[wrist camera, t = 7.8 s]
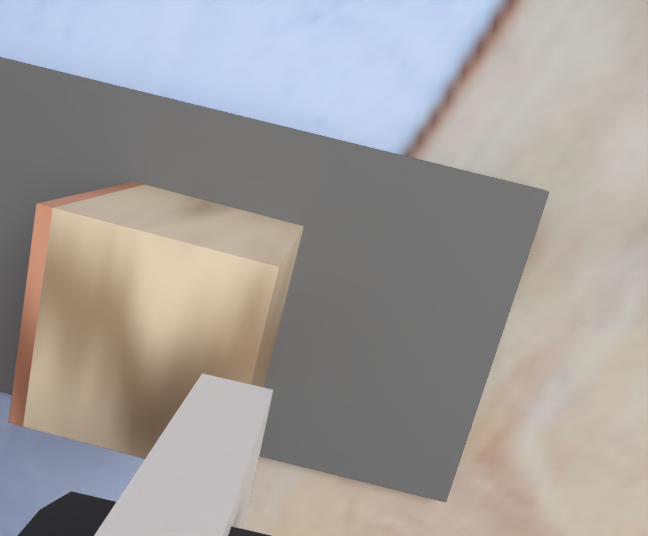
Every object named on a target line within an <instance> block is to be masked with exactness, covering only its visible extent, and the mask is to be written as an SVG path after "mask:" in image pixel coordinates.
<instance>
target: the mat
mask: <svg viewBox="0 0 648 536" xmlns="http://www.w3.org/2000/svg"><path fill="white" fill-rule="evenodd" d="M130 182H136V183H140V184H144V185H148V186H152V187H156V188H159V189H163V190H167V191H171V192H175V193H178V194H182V195H186V196H190V197H194V198H198V199H201V200H205V201H209V202H213V203H217V204H221V205H224V206H228V207H232V208H236V209H240V210H244V211H247V212H251V213H255V214H259V215H263V216H267V217H270V218H274V219H278V220H282V221H286V222H289V223H293V224H297V225H301V226H304V227H303V231H302V236H301V240H300V244H299V248H298V252H297V256H296V260H295V264H294V268H293V272H292V276H291V280H290V284H289V288H288V292H287V296H286V300H285V304H284V308H283V312H282V317H281V321H280V325H279V329H278V333H277V337H276V341H275V345H274V349H273V353H272V357H271V361H270V365H269V369H268V373H267V377H266V381H265V385H264V388H268V389H272V390H273V394H272V398H271V403H270V408H269V412H268V417H267V422H266V427H265V431H264V436H263V441H262V445H261V450H260V455H259V456H262V457H266V458H270V459H274V460H278V461H282V462H286V463H290V464H294V465H298V466H302V467H306V468H310V469H314V470H318V471H322V472H326V473H330V474H334V475H338V476H342V477H346V478H350V479H354V480H358V481H362V482H366V483H370V484H374V485H378V486H382V487H386V488H390V489H394V490H398V491H402V492H406V493H410V494H414V495H418V496H422V497H426V498H430V499H434V500H438V501H442V502H446V501H447V498H448V495H449V492H450V489H451V486H452V483H453V480H454V477H455V474H456V471H457V468H458V465H459V462H460V459H461V456H462V453H463V450H464V447H465V444H466V441H467V438H468V435H469V432H470V429H471V426H472V423H473V420H474V417H475V414H476V411H477V408H478V405H479V402H480V399H481V396H482V393H483V390H484V387H485V384H486V381H487V378H488V375H489V372H490V369H491V366H492V363H493V360H494V357H495V354H496V351H497V348H498V345H499V342H500V339H501V336H502V333H503V330H504V327H505V324H506V321H507V318H508V315H509V312H510V309H511V306H512V303H513V300H514V297H515V294H516V291H517V288H518V285H519V282H520V279H521V276H522V273H523V270H524V267H525V264H526V261H527V258H528V255H529V252H530V249H531V246H532V243H533V240H534V237H535V234H536V231H537V228H538V225H539V222H540V219H541V216H542V213H543V210H544V207H545V204H546V201H547V198H548V195H549V192H548V191H545V190H542V189H538V188H534V187H529V186H525V185H521V184H517V183H513V182H509V181H505V180H501V179H497V178H493V177H489V176H484V175H480V174H476V173H472V172H468V171H464V170H460V169H456V168H452V167H448V166H443V165H439V164H435V163H431V162H427V161H423V160H419V159H415V158H411V157H407V156H403V155H398V154H394V153H390V152H386V151H382V150H378V149H374V148H370V147H366V146H362V145H358V144H353V143H349V142H345V141H341V140H337V139H333V138H329V137H325V136H321V135H317V134H313V133H308V132H304V131H300V130H296V129H292V128H288V127H284V126H280V125H276V124H272V123H268V122H263V121H259V120H255V119H251V118H247V117H243V116H239V115H235V114H231V113H227V112H223V111H218V110H214V109H210V108H206V107H202V106H198V105H194V104H190V103H186V102H182V101H178V100H173V99H169V98H165V97H161V96H157V95H153V94H149V93H145V92H141V91H137V90H133V89H128V88H124V87H120V86H116V85H112V84H108V83H104V82H100V81H96V80H92V79H88V78H83V77H79V76H75V75H71V74H67V73H63V72H59V71H55V70H51V69H47V68H43V67H38V66H34V65H30V64H26V63H22V62H18V61H14V60H10V59H6V58H2V57H0V392H4V393H8V394H12V391H13V383H14V375H15V368H16V360H17V352H18V344H19V336H20V329H21V321H22V313H23V305H24V297H25V290H26V282H27V274H28V266H29V258H30V251H31V243H32V235H33V227H34V220H35V212H36V204H37V203H41V202H46V201H50V200H55V199H59V198H63V197H68V196H72V195H77V194H81V193H86V192H90V191H94V190H99V189H103V188H108V187H112V186H116V185H121V184H125V183H130Z"/></svg>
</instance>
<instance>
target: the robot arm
mask: <svg viewBox="0 0 648 536" xmlns="http://www.w3.org/2000/svg"><path fill="white" fill-rule="evenodd" d="M272 394H273V390H272V389H268V388H264V387H259V386H255V385H251V384H246V383H242V382H238V381H233V380H229V379H224V378H220V377H216V376H211V375H207V374H203V373H202V374H201V376H200V377H199V379H198V380H197V382H196V383H195V385H194V386H193V388H192V389H191V391H190V392H189V394H188V395H187V397H186V398H185V400H184V401H183V403H182V404H181V406H180V407H179V409H178V410H177V412H176V413H175V415H174V416H173V418H172V419H171V421H170V422H169V424H168V425H167V427H166V428H165V430H164V431H163V433H162V434H161V436H160V437H159V439H158V440H157V442H156V443H155V445H154V446H153V448H152V449H151V451H150V452H149V454H148V455H147V457H146V458H145V460H144V461H143V463H142V464H141V466H140V467H139V469H138V470H137V472H136V473H135V475H134V476H133V478H132V479H131V481H130V482H129V484H128V485H127V487H126V488H125V490H124V491H123V493H122V494H121V496H120V498H119V499H118V501H117V502H114V501H110V500H106V499H101V498H97V497H93V496H88V495H84V494H80V493H76V492H70V493H68V494H66V495H64V496H63V497H61V498H59V499H58V500H56V501H54V502H52V503H51V504H49V505H47V506H46V507H44V508H42V509H40V510H39V511H38V513H37V514H36V515H35V516H34V517H33V518H32V520H31V521H30V522H29V523H28V524H27V525H26V527H25V528H24V529H23V530H22V531H21V533H20V534H19V535H18V536H270V535H266V534H262V533H257V532H253V531H249V530H244V529H241V528H242V525H243V522H244V519H245V515H246V512H247V509H248V505H249V502H250V497H251V492H252V488H253V483H254V478H255V473H256V469H257V464H258V459H259V455H260V450H261V445H262V441H263V436H264V431H265V427H266V422H267V417H268V412H269V408H270V403H271V398H272Z"/></svg>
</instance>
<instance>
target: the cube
mask: <svg viewBox="0 0 648 536" xmlns="http://www.w3.org/2000/svg"><path fill="white" fill-rule="evenodd" d="M303 227H304V226H301V225H297V224H293V223H289V222H286V221H282V220H278V219H274V218H270V217H267V216H263V215H259V214H255V213H251V212H247V211H244V210H240V209H236V208H232V207H228V206H224V205H221V204H217V203H213V202H209V201H205V200H201V199H198V198H194V197H190V196H186V195H182V194H178V193H175V192H171V191H167V190H163V189H159V188H156V187H152V186H148V185H144V184H140V183H136V182H130V183H125V184H121V185H116V186H112V187H108V188H103V189H99V190H94V191H90V192H86V193H81V194H77V195H72V196H68V197H63V198H59V199H55V200H50V201H46V202H41V203H37V204H36V212H35V220H34V227H33V235H32V243H31V251H30V258H29V266H28V274H27V282H26V290H25V297H24V305H23V313H22V321H21V329H20V336H19V344H18V352H17V360H16V368H15V375H14V383H13V391H12V399H11V406H10V414H9V422H8V423H11V424H15V425H19V426H23V427H26V428H30V429H34V430H38V431H42V432H45V433H49V434H53V435H57V436H61V437H64V438H68V439H72V440H76V441H80V442H83V443H87V444H91V445H95V446H99V447H102V448H106V449H110V450H114V451H118V452H121V453H125V454H129V455H133V456H137V457H141V458H144V459H145V458H146V457H147V455H148V454H149V452H150V451H151V449H152V448H153V446H154V445H155V443H156V442H157V440H158V439H159V437H160V436H161V434H162V433H163V431H164V430H165V428H166V427H167V425H168V424H169V422H170V421H171V419H172V418H173V416H174V415H175V413H176V412H177V410H178V409H179V407H180V406H181V404H182V403H183V401H184V400H185V398H186V397H187V395H188V394H189V392H190V391H191V389H192V388H193V386H194V385H195V383H196V382H197V380H198V379H199V377H200V376H201V374H202V373H203V374H207V375H211V376H216V377H220V378H224V379H229V380H233V381H238V382H242V383H246V384H251V385H255V386H259V387H264V385H265V381H266V377H267V373H268V369H269V365H270V361H271V357H272V353H273V349H274V345H275V341H276V337H277V333H278V329H279V325H280V321H281V317H282V312H283V308H284V304H285V300H286V296H287V292H288V288H289V284H290V280H291V276H292V272H293V268H294V264H295V260H296V256H297V252H298V248H299V244H300V240H301V236H302V231H303Z"/></svg>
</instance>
